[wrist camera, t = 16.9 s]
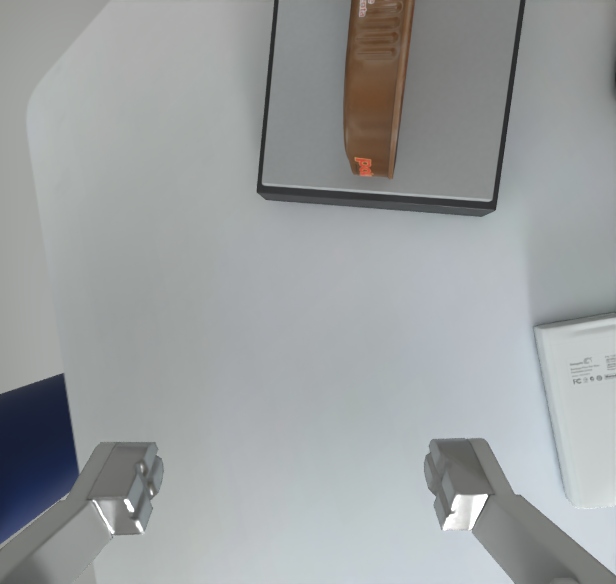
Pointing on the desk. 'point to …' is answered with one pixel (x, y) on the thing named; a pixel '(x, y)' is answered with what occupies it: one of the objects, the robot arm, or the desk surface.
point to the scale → (415, 111)
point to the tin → (375, 83)
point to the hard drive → (582, 404)
